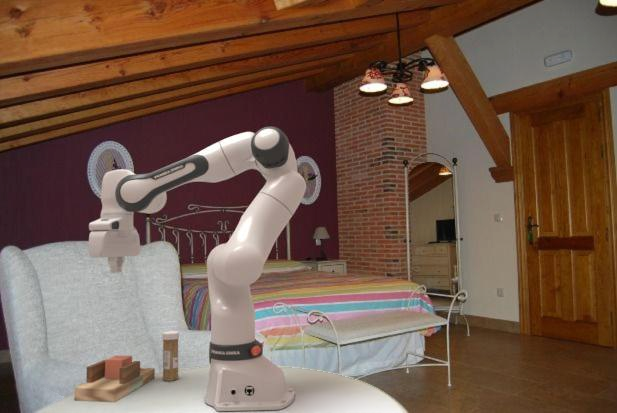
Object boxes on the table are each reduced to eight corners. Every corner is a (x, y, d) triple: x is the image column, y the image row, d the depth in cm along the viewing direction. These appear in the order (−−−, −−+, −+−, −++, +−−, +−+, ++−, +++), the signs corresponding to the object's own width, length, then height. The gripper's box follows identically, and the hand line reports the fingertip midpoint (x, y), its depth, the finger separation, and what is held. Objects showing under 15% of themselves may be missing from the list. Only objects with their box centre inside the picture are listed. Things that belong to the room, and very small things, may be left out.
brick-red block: (131, 374, 128) (132, 355, 128) (121, 379, 123) (122, 360, 123) (115, 373, 128) (115, 355, 129) (104, 378, 124) (105, 359, 124)
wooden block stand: (154, 378, 133) (154, 354, 134) (114, 401, 114) (114, 373, 114) (120, 377, 135) (120, 353, 136) (74, 400, 116) (75, 371, 116)
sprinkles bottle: (180, 379, 132) (180, 332, 133) (164, 382, 129) (165, 334, 131) (175, 376, 136) (176, 329, 137) (160, 378, 133) (160, 331, 134)
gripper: (127, 226, 144) (126, 270, 142) (84, 223, 123) (83, 275, 122) (145, 226, 143) (145, 270, 141) (105, 223, 122) (104, 275, 121)
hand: (116, 272), depth 132 cm, fingers closed
